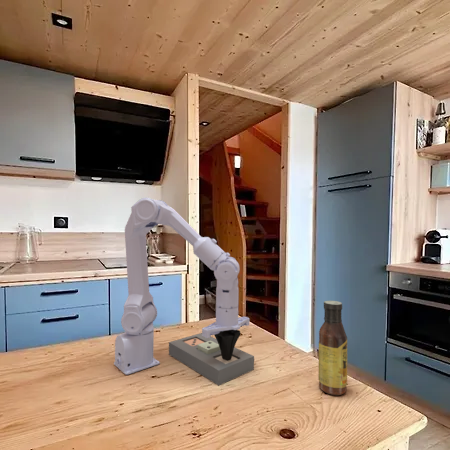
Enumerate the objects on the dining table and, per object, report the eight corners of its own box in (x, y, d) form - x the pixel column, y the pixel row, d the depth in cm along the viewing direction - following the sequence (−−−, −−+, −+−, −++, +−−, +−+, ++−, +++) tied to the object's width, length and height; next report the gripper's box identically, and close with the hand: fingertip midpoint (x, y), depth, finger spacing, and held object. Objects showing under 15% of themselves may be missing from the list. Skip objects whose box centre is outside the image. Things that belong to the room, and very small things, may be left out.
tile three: (192, 353, 85) (192, 346, 85) (183, 348, 89) (183, 341, 89) (205, 348, 88) (205, 342, 88) (195, 344, 92) (195, 337, 92)
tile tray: (218, 385, 71) (218, 370, 71) (168, 354, 88) (168, 342, 88) (253, 369, 79) (254, 356, 79) (202, 343, 95) (202, 332, 95)
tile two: (207, 356, 80) (208, 349, 80) (197, 351, 83) (197, 344, 83) (221, 352, 83) (221, 345, 83) (210, 346, 87) (210, 340, 86)
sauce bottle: (349, 398, 66) (350, 307, 66) (319, 395, 68) (320, 305, 68) (344, 383, 73) (345, 299, 73) (316, 380, 74) (318, 298, 74)
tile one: (225, 372, 75) (225, 364, 75) (213, 365, 78) (213, 357, 78) (239, 366, 78) (239, 358, 78) (227, 360, 81) (227, 353, 81)
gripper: (215, 314, 70) (214, 373, 70) (258, 304, 80) (257, 356, 80) (197, 308, 75) (196, 362, 75) (239, 298, 85) (238, 347, 85)
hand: (226, 358), depth 78 cm, fingers closed, pressing on tile one
